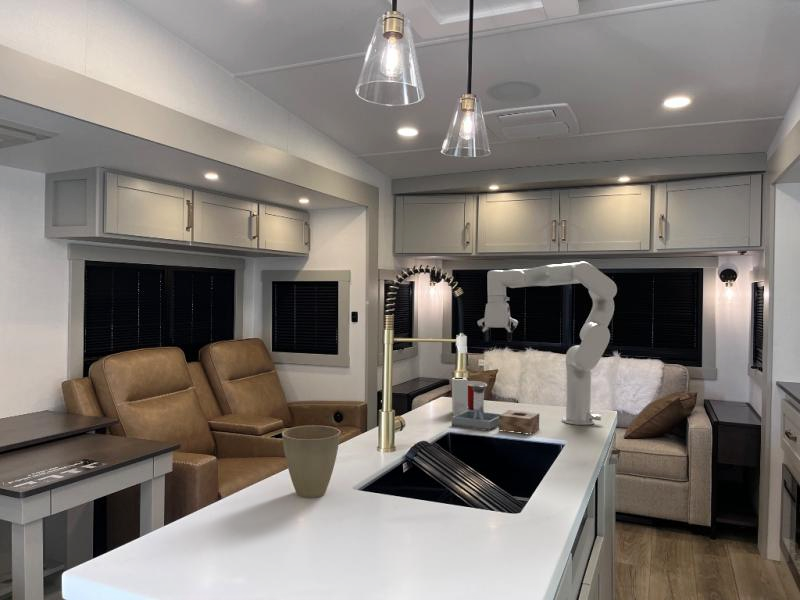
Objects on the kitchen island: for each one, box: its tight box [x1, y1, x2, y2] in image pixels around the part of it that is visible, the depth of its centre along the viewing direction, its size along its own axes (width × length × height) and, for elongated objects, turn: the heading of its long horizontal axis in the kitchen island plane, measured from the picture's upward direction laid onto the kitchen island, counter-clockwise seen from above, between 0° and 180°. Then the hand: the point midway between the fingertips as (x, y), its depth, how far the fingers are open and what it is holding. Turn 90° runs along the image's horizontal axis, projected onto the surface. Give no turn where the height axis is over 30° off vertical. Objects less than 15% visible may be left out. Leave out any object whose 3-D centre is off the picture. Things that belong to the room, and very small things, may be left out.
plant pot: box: [281, 425, 341, 499], centre depth 151 cm, size 15×15×16 cm
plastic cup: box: [468, 380, 488, 410], centre depth 268 cm, size 11×11×12 cm
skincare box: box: [451, 377, 469, 416], centre depth 256 cm, size 8×7×16 cm
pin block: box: [498, 409, 540, 435], centre depth 227 cm, size 12×12×6 cm
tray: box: [451, 409, 502, 431], centre depth 235 cm, size 16×16×4 cm
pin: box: [473, 385, 486, 420], centre depth 235 cm, size 5×5×15 cm
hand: (497, 341), depth 243 cm, fingers open, 9 cm apart
